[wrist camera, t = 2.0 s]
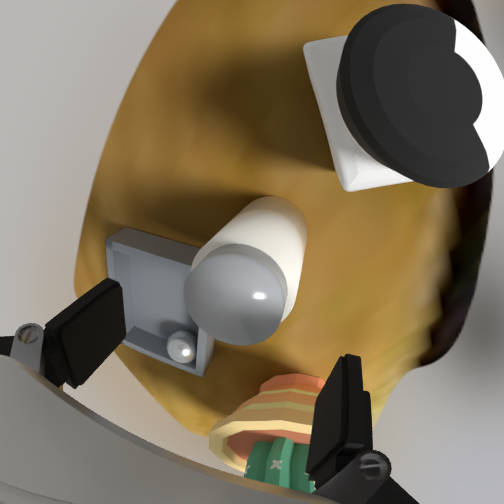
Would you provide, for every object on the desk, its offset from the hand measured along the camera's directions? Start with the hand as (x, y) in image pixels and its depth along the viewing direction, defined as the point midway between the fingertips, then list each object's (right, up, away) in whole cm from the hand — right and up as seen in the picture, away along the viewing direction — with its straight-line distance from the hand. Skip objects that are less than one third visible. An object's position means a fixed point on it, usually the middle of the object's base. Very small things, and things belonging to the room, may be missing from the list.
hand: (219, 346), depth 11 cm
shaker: (+3, +5, +10) cm, 12 cm away
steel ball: (-5, -5, +16) cm, 17 cm away
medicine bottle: (+9, +13, +5) cm, 17 cm away
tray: (-7, -1, +15) cm, 16 cm away
